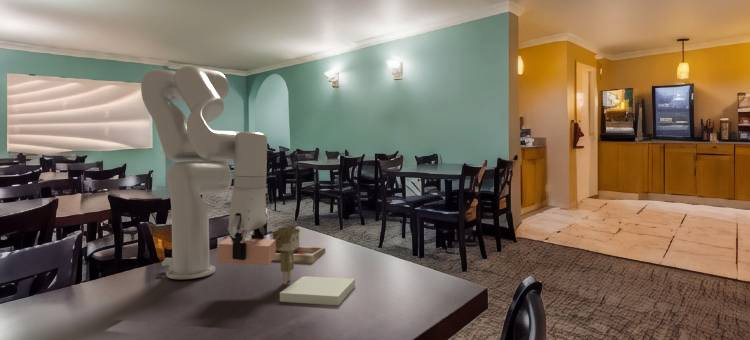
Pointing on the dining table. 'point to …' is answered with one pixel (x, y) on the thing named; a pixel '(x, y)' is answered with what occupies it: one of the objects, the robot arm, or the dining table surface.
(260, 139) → the robot arm
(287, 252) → the toy
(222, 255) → the brick
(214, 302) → the dining table surface
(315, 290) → the plate
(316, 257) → the car corral
